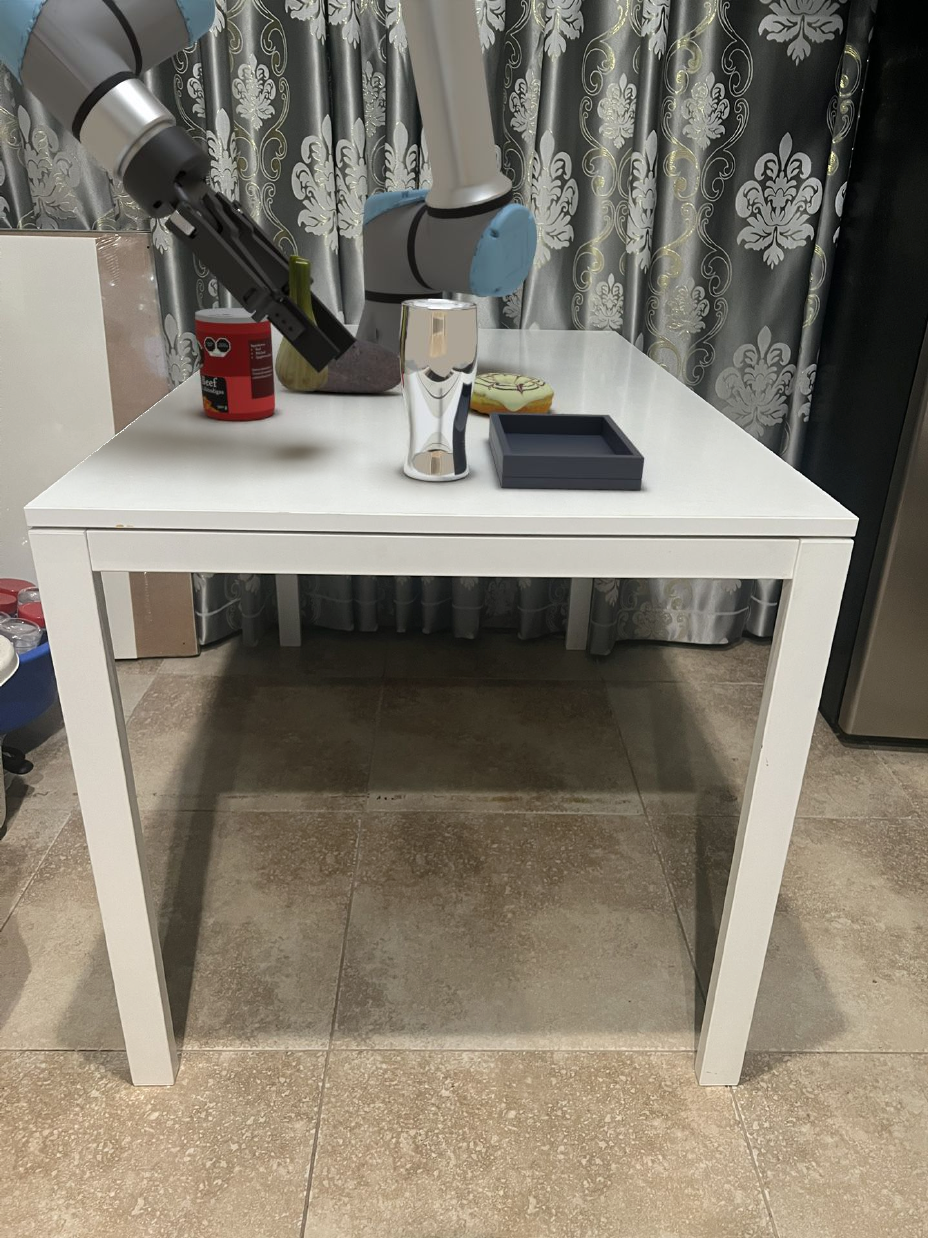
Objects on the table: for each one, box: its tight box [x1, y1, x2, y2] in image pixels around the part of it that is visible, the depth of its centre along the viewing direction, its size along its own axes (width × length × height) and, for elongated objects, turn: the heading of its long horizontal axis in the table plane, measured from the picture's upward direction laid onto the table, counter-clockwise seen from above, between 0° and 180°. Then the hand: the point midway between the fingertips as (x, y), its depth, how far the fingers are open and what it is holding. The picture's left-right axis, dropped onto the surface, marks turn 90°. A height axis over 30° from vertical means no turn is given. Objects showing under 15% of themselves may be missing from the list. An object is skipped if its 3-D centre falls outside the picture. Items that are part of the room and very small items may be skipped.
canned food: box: [194, 307, 276, 422], centre depth 101 cm, size 8×8×11 cm
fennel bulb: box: [274, 254, 328, 392], centre depth 84 cm, size 6×5×12 cm
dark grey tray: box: [488, 412, 645, 491], centre depth 88 cm, size 17×13×3 cm
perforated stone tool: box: [315, 339, 401, 394], centre depth 114 cm, size 15×5×7 cm, turn 84°
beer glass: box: [399, 298, 479, 482], centre depth 81 cm, size 7×7×15 cm
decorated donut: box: [470, 372, 555, 416], centre depth 108 cm, size 10×11×4 cm
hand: (338, 355), depth 85 cm, fingers closed on fennel bulb, 6 cm apart
